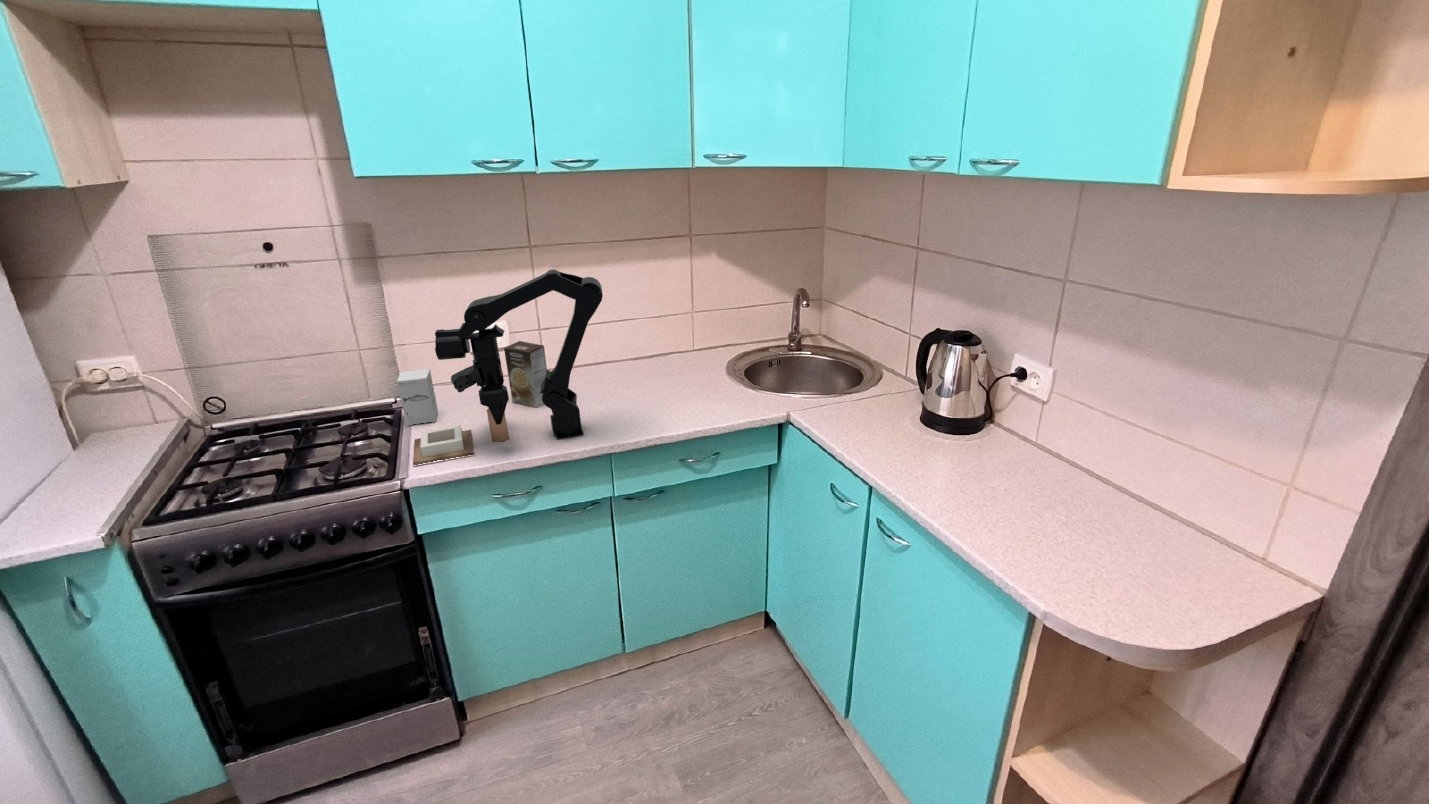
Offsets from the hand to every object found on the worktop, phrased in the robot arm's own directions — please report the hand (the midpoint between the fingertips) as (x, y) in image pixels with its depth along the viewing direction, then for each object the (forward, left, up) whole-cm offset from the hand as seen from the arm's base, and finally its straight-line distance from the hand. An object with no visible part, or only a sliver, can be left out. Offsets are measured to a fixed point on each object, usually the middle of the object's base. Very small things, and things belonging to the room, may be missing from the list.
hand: (497, 416), depth 162 cm
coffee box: (-10, -21, -6) cm, 24 cm away
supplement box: (+18, -21, -6) cm, 28 cm away
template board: (+13, 0, -6) cm, 14 cm away
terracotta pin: (0, 0, -6) cm, 6 cm away
